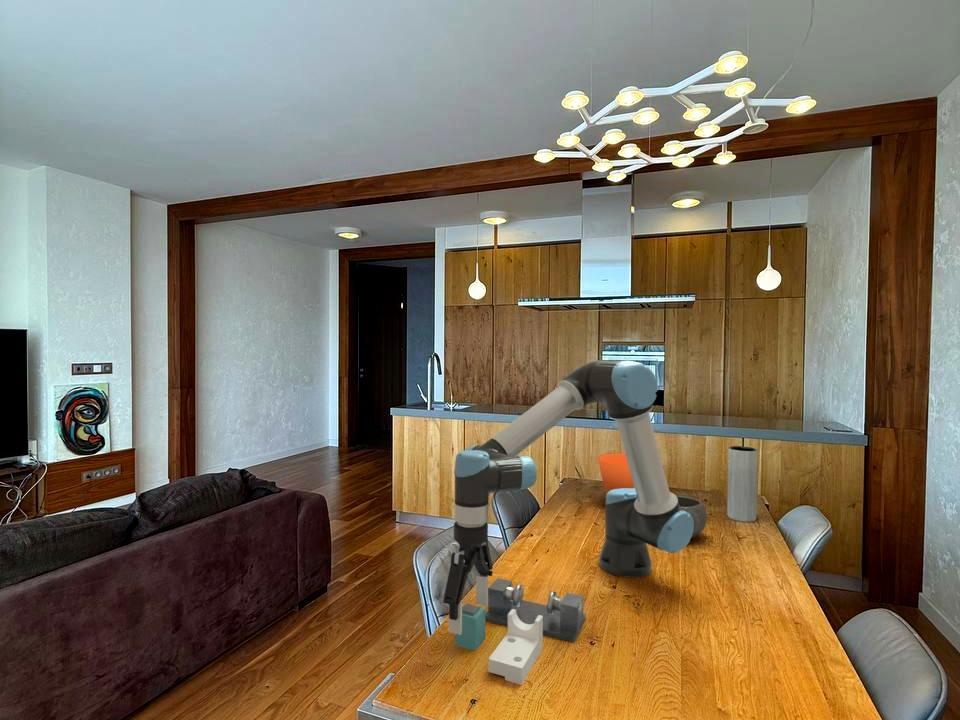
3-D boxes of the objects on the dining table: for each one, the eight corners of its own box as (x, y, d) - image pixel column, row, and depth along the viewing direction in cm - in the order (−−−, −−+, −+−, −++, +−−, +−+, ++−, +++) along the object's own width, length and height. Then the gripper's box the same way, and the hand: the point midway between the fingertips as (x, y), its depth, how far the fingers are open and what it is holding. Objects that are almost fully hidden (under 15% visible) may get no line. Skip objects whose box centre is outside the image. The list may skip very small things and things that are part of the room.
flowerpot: (669, 516, 199) (670, 466, 199) (604, 516, 200) (605, 465, 199) (649, 498, 224) (649, 453, 224) (591, 497, 225) (592, 452, 224)
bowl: (649, 541, 174) (650, 504, 173) (653, 524, 190) (653, 490, 190) (707, 549, 167) (707, 510, 167) (705, 531, 184) (706, 496, 183)
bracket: (511, 642, 114) (512, 608, 114) (542, 650, 111) (542, 616, 111) (488, 676, 102) (488, 638, 102) (522, 686, 99) (522, 647, 99)
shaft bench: (585, 618, 123) (586, 588, 123) (574, 642, 113) (575, 609, 113) (500, 599, 133) (501, 571, 132) (483, 620, 123) (483, 589, 122)
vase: (757, 516, 200) (758, 447, 199) (755, 524, 191) (756, 452, 191) (728, 512, 205) (730, 445, 205) (725, 519, 197) (726, 449, 196)
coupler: (485, 639, 115) (485, 605, 115) (475, 651, 110) (476, 616, 110) (465, 633, 117) (465, 600, 117) (455, 645, 112) (455, 611, 112)
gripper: (478, 504, 126) (477, 590, 126) (427, 537, 103) (425, 641, 103) (507, 509, 123) (505, 597, 123) (460, 543, 100) (458, 651, 100)
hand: (469, 617), depth 113 cm, fingers open, 13 cm apart
